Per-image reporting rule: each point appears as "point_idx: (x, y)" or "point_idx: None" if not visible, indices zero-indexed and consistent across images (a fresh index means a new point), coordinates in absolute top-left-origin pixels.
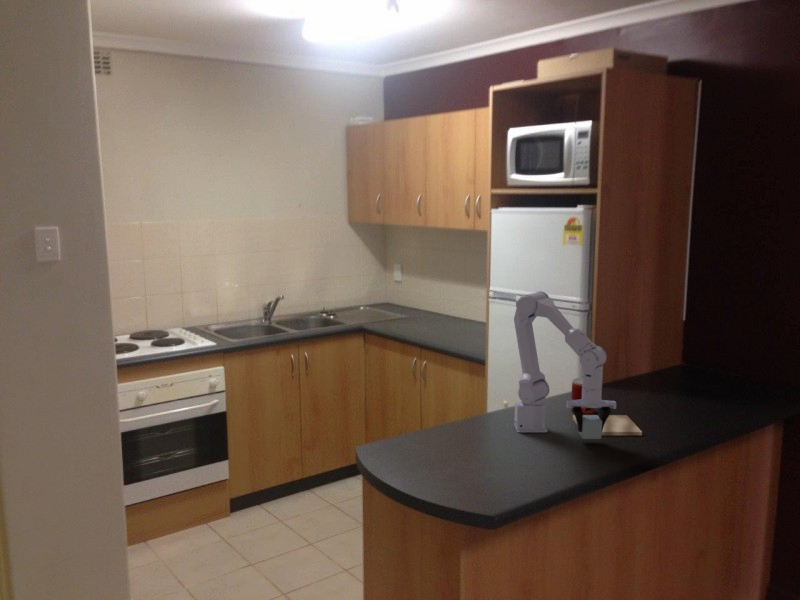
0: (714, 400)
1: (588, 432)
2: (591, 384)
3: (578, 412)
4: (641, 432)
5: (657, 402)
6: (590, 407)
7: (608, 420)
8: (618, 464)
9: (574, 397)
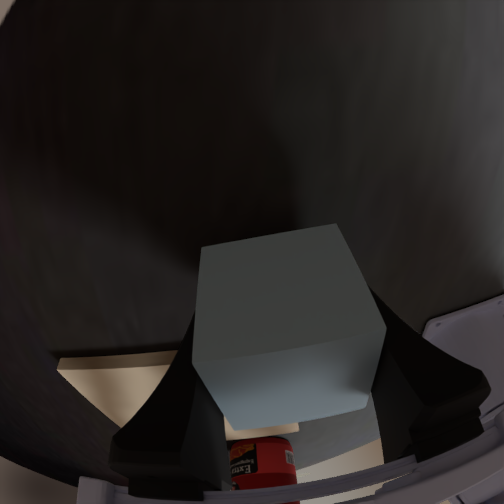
0: (36, 454)
1: (307, 261)
2: None
3: (475, 388)
4: (58, 367)
5: (106, 464)
6: (321, 484)
7: None
8: None
9: (292, 479)
